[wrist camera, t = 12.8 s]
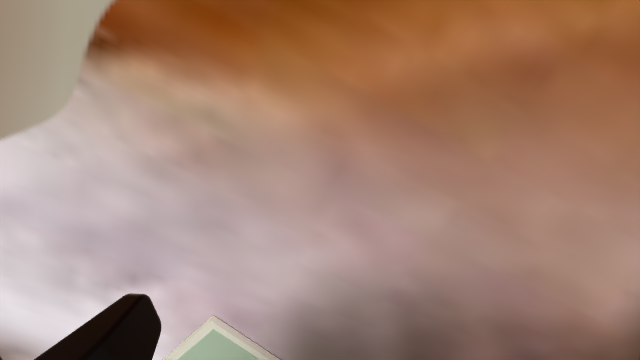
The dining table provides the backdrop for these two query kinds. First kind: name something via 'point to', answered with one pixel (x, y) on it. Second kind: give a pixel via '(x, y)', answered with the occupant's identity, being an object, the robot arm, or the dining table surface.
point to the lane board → (218, 345)
